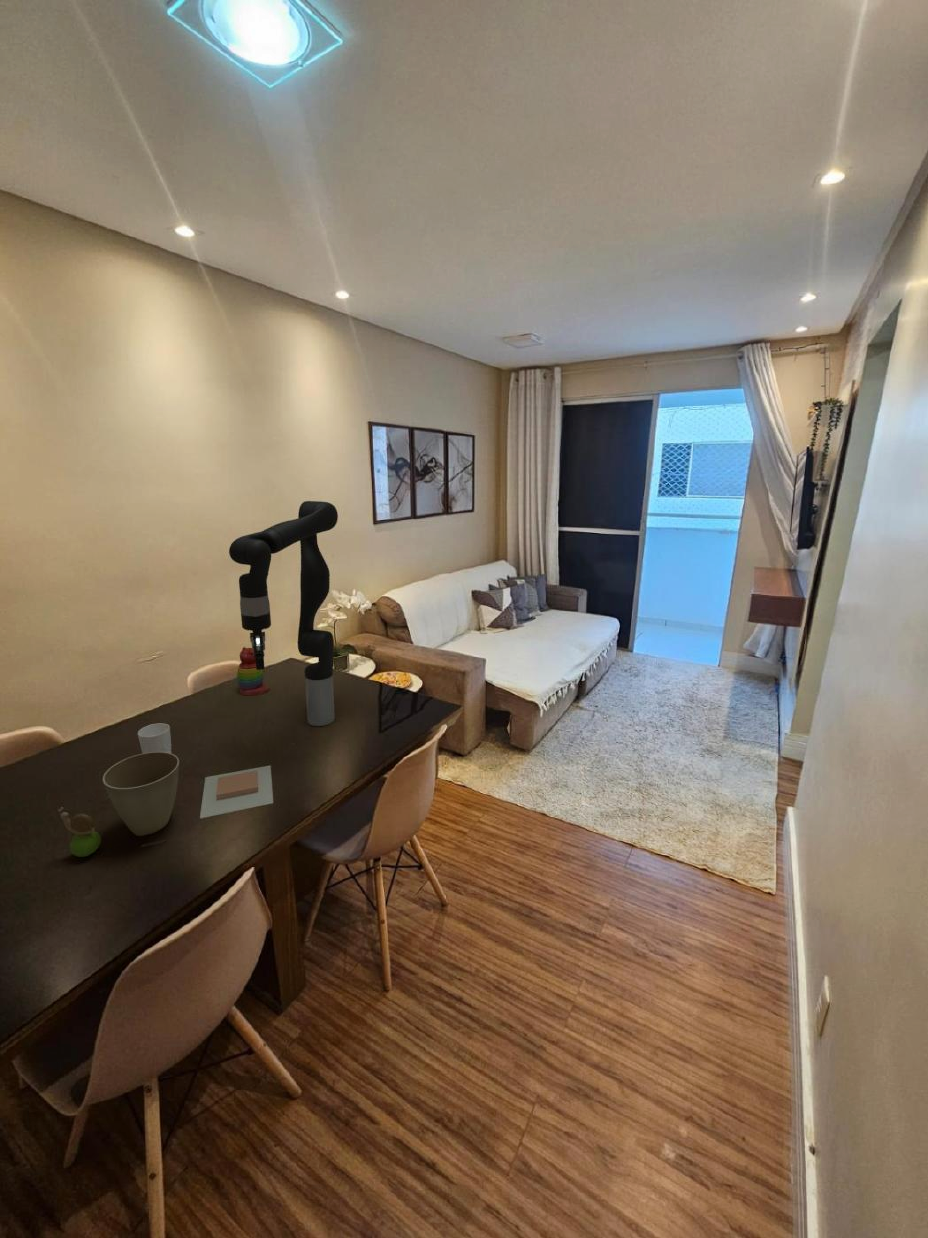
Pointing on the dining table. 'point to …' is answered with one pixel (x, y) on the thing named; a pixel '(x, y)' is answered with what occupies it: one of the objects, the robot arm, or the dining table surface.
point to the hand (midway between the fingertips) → (260, 668)
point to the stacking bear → (250, 674)
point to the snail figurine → (81, 834)
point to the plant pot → (143, 790)
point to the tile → (237, 785)
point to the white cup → (155, 738)
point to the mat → (237, 802)
